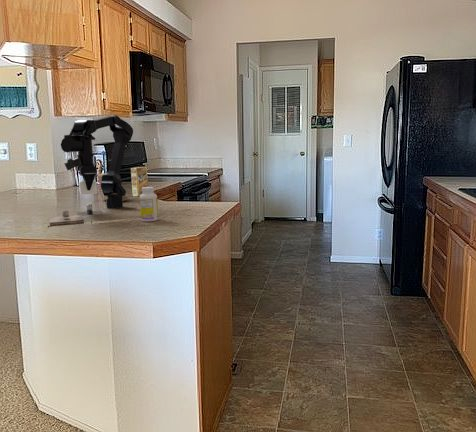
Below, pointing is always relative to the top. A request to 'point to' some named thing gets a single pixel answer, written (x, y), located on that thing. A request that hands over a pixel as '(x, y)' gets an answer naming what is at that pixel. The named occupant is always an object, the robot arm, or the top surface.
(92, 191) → the collar
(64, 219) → the hub
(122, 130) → the robot arm
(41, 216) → the top surface
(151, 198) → the supplement bottle
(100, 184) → the stone cup
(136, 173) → the candy box
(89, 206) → the stand
